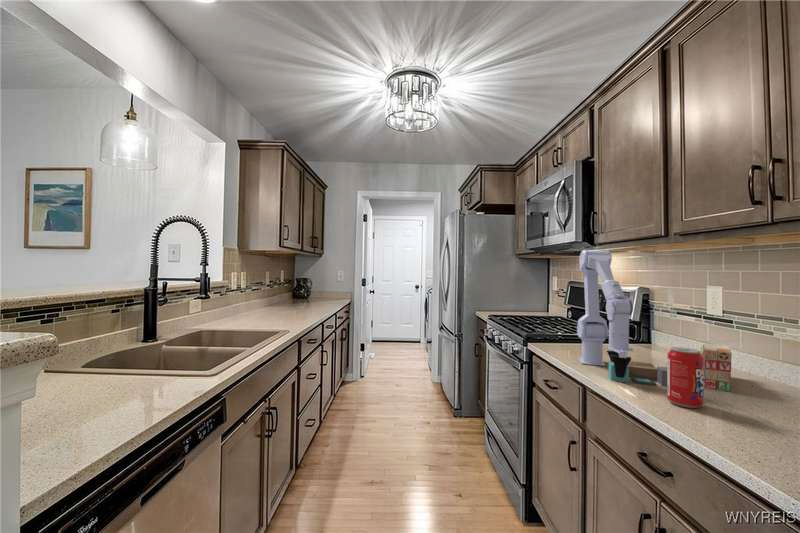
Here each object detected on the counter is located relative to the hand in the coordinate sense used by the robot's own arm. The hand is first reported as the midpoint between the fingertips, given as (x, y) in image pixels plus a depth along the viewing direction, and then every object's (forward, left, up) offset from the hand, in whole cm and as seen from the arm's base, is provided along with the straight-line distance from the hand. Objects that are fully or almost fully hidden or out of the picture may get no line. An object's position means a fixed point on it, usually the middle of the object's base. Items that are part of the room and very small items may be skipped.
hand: (618, 374), depth 121 cm
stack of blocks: (-10, +29, -2) cm, 31 cm away
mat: (0, +7, -1) cm, 7 cm away
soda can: (+19, +12, -2) cm, 23 cm away
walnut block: (-8, +7, -2) cm, 11 cm away
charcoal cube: (0, +14, -2) cm, 14 cm away
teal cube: (0, 0, -2) cm, 2 cm away
